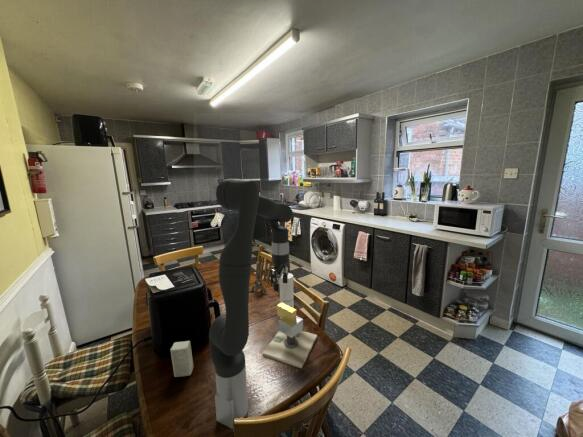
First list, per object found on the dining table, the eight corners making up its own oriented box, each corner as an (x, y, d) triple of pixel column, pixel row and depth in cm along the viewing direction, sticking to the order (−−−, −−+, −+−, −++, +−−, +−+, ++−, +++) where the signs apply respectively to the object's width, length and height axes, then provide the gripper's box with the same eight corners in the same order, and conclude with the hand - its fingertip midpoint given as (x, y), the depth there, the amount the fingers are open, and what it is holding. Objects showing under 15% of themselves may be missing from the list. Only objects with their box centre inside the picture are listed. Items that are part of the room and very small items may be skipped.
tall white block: (292, 324, 121) (291, 279, 117) (278, 322, 122) (277, 278, 118) (294, 316, 128) (294, 273, 123) (282, 315, 129) (281, 272, 125)
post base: (301, 368, 93) (301, 343, 91) (262, 355, 100) (261, 331, 98) (317, 337, 111) (317, 315, 109) (283, 327, 118) (282, 307, 116)
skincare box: (193, 366, 95) (191, 340, 93) (190, 376, 90) (187, 348, 88) (177, 368, 94) (174, 341, 92) (173, 377, 90) (169, 349, 88)
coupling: (302, 329, 105) (302, 308, 103) (291, 338, 99) (291, 316, 97) (285, 319, 112) (285, 300, 110) (273, 327, 106) (273, 307, 104)
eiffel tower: (249, 290, 158) (247, 255, 153) (264, 287, 162) (263, 252, 158) (253, 297, 148) (251, 260, 144) (269, 294, 152) (267, 257, 148)
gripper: (280, 257, 92) (281, 296, 95) (295, 247, 105) (295, 281, 108) (264, 255, 95) (265, 292, 98) (280, 246, 108) (280, 279, 111)
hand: (281, 286), depth 103 cm, fingers open, 8 cm apart
